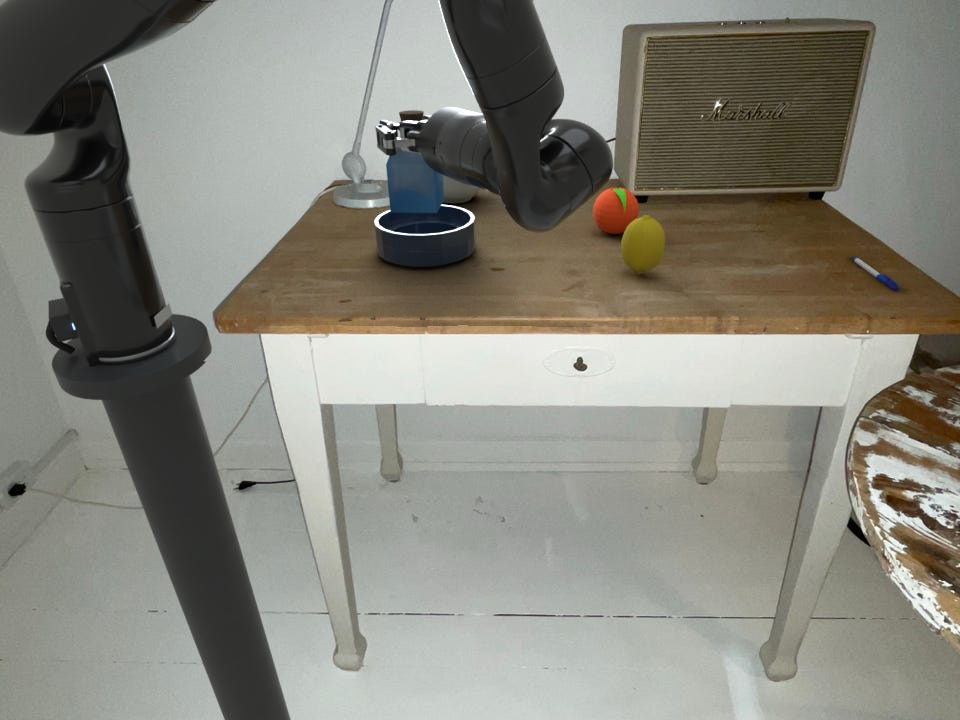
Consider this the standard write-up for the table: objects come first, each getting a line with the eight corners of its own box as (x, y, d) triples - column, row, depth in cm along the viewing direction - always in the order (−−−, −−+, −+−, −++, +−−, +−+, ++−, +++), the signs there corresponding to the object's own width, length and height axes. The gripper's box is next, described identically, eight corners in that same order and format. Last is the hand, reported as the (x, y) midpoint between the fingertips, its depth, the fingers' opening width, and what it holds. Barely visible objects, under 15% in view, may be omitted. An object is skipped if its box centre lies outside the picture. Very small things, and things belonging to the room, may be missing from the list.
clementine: (644, 241, 94) (650, 194, 91) (599, 243, 94) (603, 196, 90) (628, 224, 101) (633, 180, 98) (586, 226, 101) (589, 181, 97)
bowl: (403, 278, 84) (400, 242, 81) (362, 247, 94) (359, 214, 92) (493, 257, 90) (493, 223, 87) (446, 230, 100) (445, 198, 98)
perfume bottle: (443, 199, 88) (439, 108, 82) (436, 212, 83) (431, 116, 77) (400, 199, 89) (392, 108, 83) (390, 212, 83) (381, 116, 77)
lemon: (615, 266, 86) (621, 208, 82) (656, 266, 86) (663, 208, 82) (621, 282, 81) (628, 222, 77) (665, 282, 81) (673, 221, 77)
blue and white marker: (900, 291, 78) (903, 284, 77) (893, 292, 78) (895, 284, 77) (854, 260, 87) (856, 253, 87) (848, 260, 87) (850, 253, 87)
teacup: (473, 188, 121) (472, 145, 117) (491, 203, 112) (491, 157, 108) (402, 196, 118) (398, 152, 114) (415, 212, 109) (412, 165, 105)
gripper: (521, 105, 71) (451, 90, 84) (405, 118, 65) (348, 100, 78) (520, 172, 75) (453, 148, 88) (411, 191, 69) (355, 162, 82)
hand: (404, 126), depth 83 cm, fingers closed on perfume bottle, 5 cm apart
